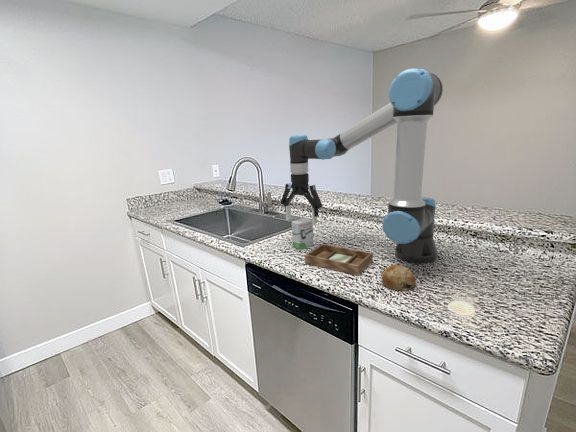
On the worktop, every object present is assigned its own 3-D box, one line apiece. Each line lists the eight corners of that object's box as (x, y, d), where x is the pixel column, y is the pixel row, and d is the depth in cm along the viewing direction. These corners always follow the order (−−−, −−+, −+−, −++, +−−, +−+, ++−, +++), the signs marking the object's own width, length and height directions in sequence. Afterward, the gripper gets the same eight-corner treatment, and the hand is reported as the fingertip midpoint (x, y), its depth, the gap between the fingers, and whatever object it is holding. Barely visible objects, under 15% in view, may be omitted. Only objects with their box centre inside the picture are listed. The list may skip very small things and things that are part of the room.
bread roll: (391, 302, 94) (400, 285, 89) (372, 277, 101) (379, 261, 96) (416, 294, 98) (425, 278, 93) (395, 271, 105) (404, 254, 100)
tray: (372, 261, 115) (372, 252, 114) (358, 275, 105) (358, 266, 104) (322, 251, 128) (322, 243, 127) (305, 263, 117) (304, 255, 116)
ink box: (299, 249, 131) (297, 223, 128) (292, 247, 135) (290, 221, 132) (314, 244, 136) (313, 219, 133) (306, 242, 140) (305, 217, 137)
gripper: (330, 172, 123) (330, 223, 129) (281, 170, 137) (283, 216, 143) (320, 175, 117) (322, 227, 123) (270, 173, 132) (273, 220, 137)
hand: (301, 221), depth 133 cm, fingers open, 13 cm apart
